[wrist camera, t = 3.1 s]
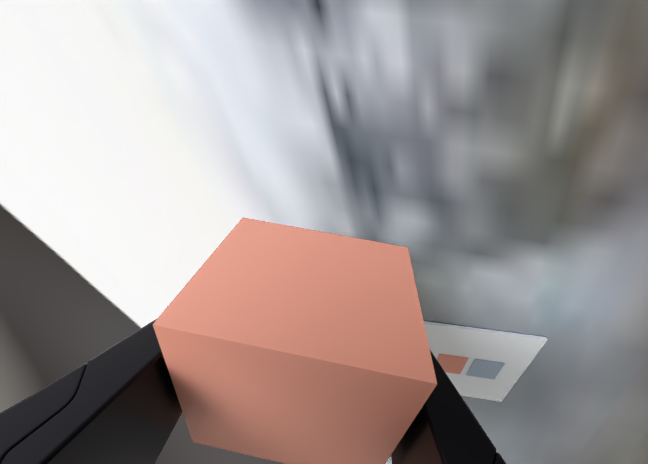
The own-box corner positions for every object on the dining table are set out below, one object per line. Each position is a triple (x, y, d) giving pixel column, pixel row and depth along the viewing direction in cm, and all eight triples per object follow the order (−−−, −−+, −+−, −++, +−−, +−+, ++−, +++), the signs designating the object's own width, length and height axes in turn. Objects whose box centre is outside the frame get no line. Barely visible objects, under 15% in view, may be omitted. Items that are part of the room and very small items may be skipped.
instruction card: (545, 336, 16) (548, 340, 15) (500, 399, 19) (501, 403, 19) (389, 316, 17) (389, 320, 16) (374, 379, 20) (374, 382, 20)
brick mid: (407, 247, 8) (437, 384, 4) (371, 349, 10) (371, 483, 7) (242, 217, 8) (152, 324, 5) (248, 324, 11) (192, 442, 7)
